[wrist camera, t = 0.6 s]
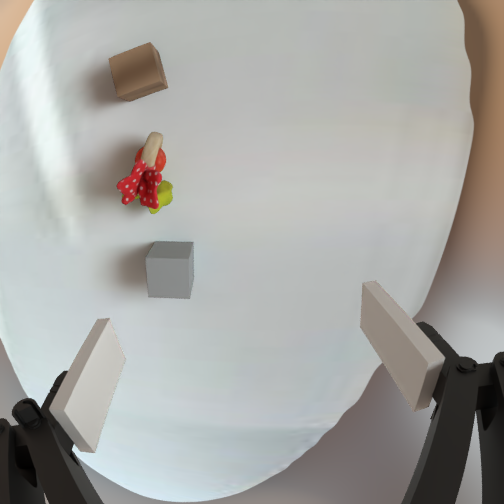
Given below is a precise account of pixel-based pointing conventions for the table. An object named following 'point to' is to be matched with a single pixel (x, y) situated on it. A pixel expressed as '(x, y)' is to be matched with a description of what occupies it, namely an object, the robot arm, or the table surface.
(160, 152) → the bird rattle
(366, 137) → the table surface
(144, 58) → the walnut block
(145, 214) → the table surface
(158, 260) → the grey block
